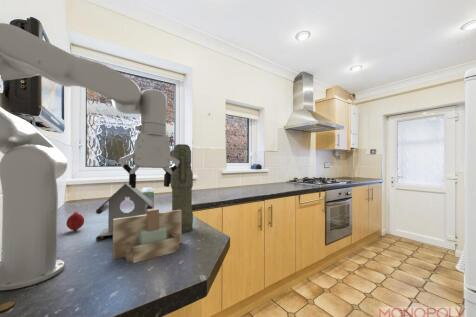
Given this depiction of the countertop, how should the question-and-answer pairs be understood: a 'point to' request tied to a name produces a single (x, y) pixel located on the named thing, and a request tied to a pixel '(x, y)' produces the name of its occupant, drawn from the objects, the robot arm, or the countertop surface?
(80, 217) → the onion
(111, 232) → the grey nesting box
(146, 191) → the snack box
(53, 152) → the robot arm
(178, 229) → the wooden box
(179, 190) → the green carved statue
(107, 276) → the countertop surface
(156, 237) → the green and brown block
